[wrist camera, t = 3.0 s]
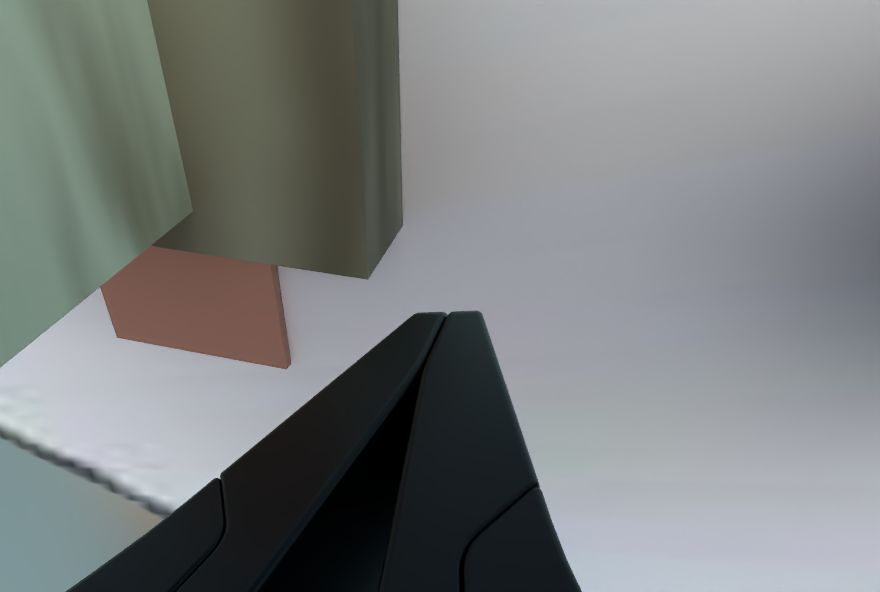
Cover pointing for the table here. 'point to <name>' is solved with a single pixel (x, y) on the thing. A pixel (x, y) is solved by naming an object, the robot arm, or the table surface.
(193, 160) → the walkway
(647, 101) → the table surface
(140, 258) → the reddish brown flat panel
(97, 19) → the pale green block
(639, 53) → the table surface
